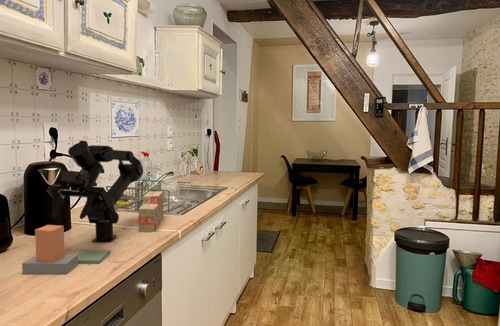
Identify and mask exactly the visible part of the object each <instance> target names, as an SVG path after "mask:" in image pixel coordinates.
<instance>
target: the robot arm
mask: <svg viewBox="0 0 500 326" xmlns="http://www.w3.org/2000/svg"><path fill="white" fill-rule="evenodd" d="M67 152H68V154H69V156H70V157H71V159H72V160H73V161H74V163H75V165H77V166H78V167H79V168H81V169H80V171H75V170H63V171H62V175H61V179H60V181H61V182H64V183H66V186H67V187H68V188H70V189H67V188H65V187H64V186H63V184H50V185H49V186H48V188H47V189H46V192H47V194H48V195H49V196H50V198H52V208H51V209H52V213H51V216H52V217H53V218H56V216H58V215H59V213H60V212H61V211H62V209H63V208H64V207H65V205H66V204H67V200H68V199H69V198H70V197H75V198H76V197H77V198H86V202H85V203H84V206H83V208H82V210H81V212H80V215H79V218H80V219H81V220H83V219H85V218H86V217H87V218H88V224H95V237H94V238H93V239H92V240H91V242H95V243H96V242H97V243H101V242H102V243H104V242H105V243H108V242H110V243H111V241H113V240H114V239H115V238H116V237H117V234H114V227H113V224H114V225H115V224H117V223H118V222H119V219H120V215H119V214H118V213H117V210H116V207H115V205H116V204H117V203H118V201H119V200H120V198H121V197H122V196H123V194H124V193H125V191H126V190H127V189H128V188H129V186H130V184H133V183H134V182H137V181H138V180H140V178H141V177H142V176H143V174H144V168H143V165H142V163H141V161H140V160H139V159H138V158H137V157H136V156H135V155H134V153H133V151H132V150H119V149H114V148H113V147H111V146H109V145H97V144H95V145H94V144H93V145H92V144H90V145H89V144H88V142H87V140H79V142H77V143H75V144H73V145H72V146H70V147H69V149H68V151H67ZM115 160H116V161H118V165H117V168H118V171H119V176H118V177H117V179H116V180H115V182H114V183H112V185H111V187H110V188H109V189H108V190H106V188H104V186H101V187H100V186H97V185H98V183H97V180H98V178H99V176H100V174H105V169H104V165H102V164H101V163H109V162H112V161H115ZM124 162H129V163H124Z"/></svg>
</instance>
